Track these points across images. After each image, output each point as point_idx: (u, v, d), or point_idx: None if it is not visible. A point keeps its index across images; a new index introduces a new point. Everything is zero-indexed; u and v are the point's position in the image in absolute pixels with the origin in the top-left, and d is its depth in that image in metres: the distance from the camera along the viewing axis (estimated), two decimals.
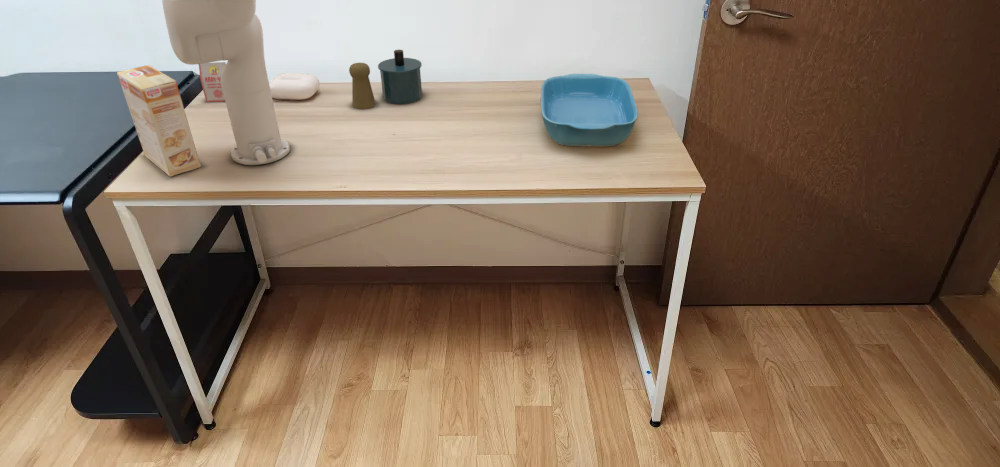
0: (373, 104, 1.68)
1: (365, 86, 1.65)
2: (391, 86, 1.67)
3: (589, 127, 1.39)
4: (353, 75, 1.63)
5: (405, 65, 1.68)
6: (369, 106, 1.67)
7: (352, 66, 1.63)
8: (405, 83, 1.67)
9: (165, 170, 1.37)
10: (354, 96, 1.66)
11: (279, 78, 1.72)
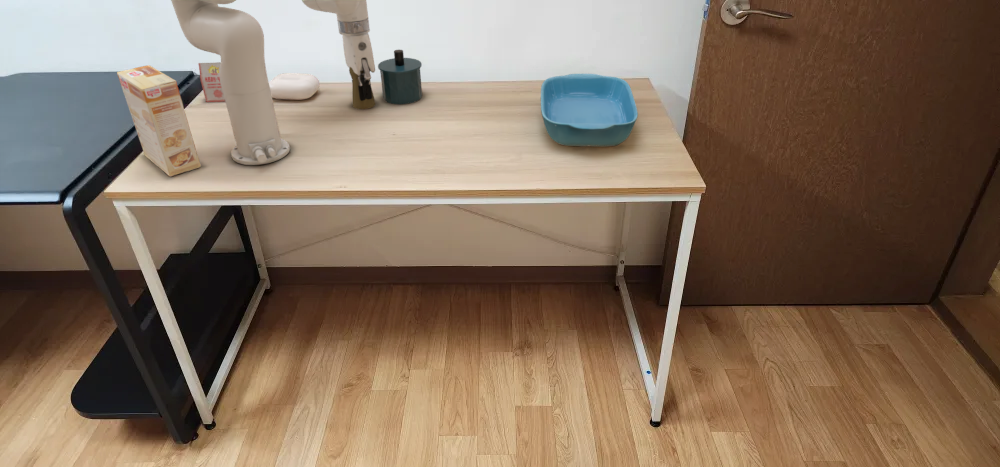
0: (373, 104, 1.68)
1: None
2: (391, 86, 1.67)
3: (589, 127, 1.39)
4: (353, 75, 1.63)
5: (405, 65, 1.68)
6: (369, 106, 1.67)
7: None
8: (405, 83, 1.67)
9: (165, 170, 1.37)
10: (354, 96, 1.66)
11: (279, 78, 1.72)
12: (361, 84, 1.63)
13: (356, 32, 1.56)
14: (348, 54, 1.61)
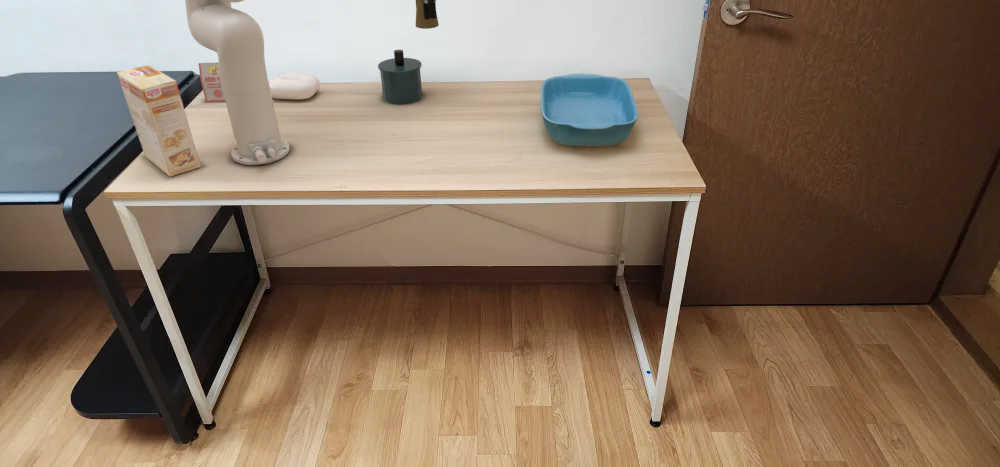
0: (437, 24, 1.67)
1: None
2: (391, 86, 1.67)
3: (589, 127, 1.39)
4: None
5: (405, 65, 1.68)
6: (433, 25, 1.66)
7: None
8: (405, 83, 1.67)
9: (165, 170, 1.37)
10: (418, 15, 1.65)
11: (279, 78, 1.72)
12: (427, 1, 1.61)
13: None
14: None
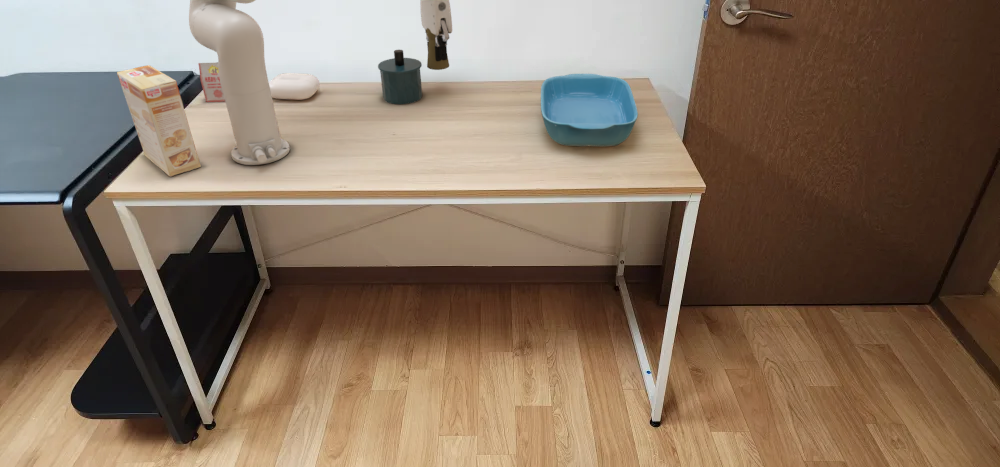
0: (447, 65, 1.74)
1: None
2: (391, 86, 1.67)
3: (589, 127, 1.39)
4: (430, 36, 1.68)
5: (405, 65, 1.68)
6: (444, 67, 1.73)
7: None
8: (405, 83, 1.67)
9: (165, 170, 1.37)
10: (430, 57, 1.72)
11: (279, 78, 1.72)
12: (438, 44, 1.68)
13: None
14: (427, 15, 1.66)
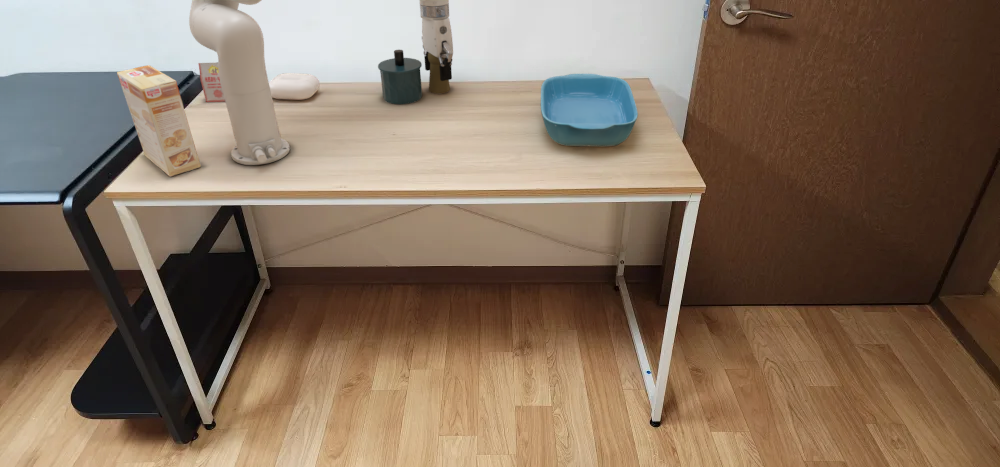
0: (448, 89, 1.77)
1: None
2: (391, 86, 1.67)
3: (589, 127, 1.39)
4: (432, 61, 1.72)
5: (405, 65, 1.68)
6: (445, 90, 1.76)
7: None
8: (405, 83, 1.67)
9: (165, 170, 1.37)
10: (431, 81, 1.75)
11: (279, 78, 1.72)
12: (443, 64, 1.69)
13: (438, 16, 1.64)
14: (428, 38, 1.69)
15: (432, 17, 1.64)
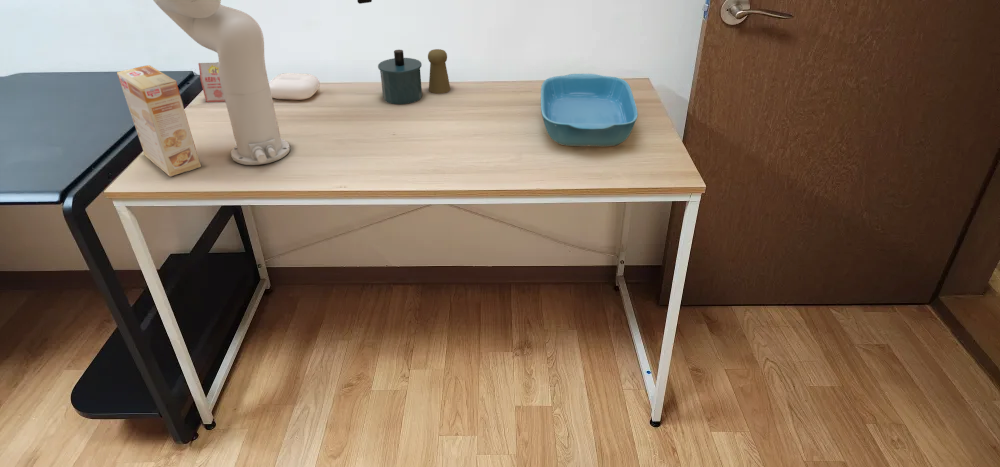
0: (448, 89, 1.77)
1: (443, 71, 1.74)
2: (391, 86, 1.67)
3: (589, 127, 1.39)
4: (432, 61, 1.72)
5: (405, 65, 1.68)
6: (445, 90, 1.76)
7: (431, 52, 1.72)
8: (405, 83, 1.67)
9: (165, 170, 1.37)
10: (431, 81, 1.75)
11: (279, 78, 1.72)
12: None
13: None
14: None
15: None
